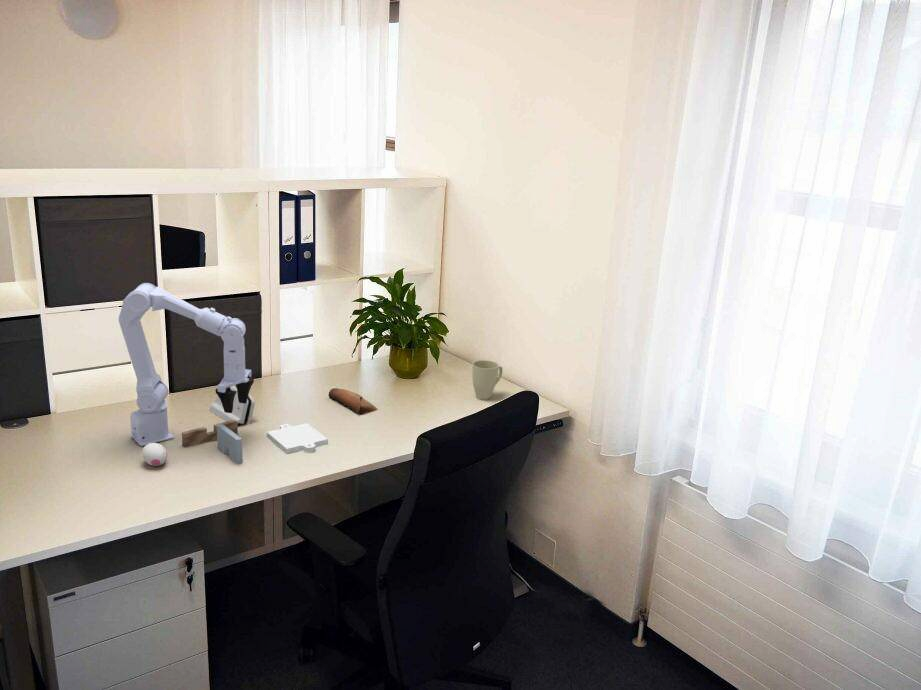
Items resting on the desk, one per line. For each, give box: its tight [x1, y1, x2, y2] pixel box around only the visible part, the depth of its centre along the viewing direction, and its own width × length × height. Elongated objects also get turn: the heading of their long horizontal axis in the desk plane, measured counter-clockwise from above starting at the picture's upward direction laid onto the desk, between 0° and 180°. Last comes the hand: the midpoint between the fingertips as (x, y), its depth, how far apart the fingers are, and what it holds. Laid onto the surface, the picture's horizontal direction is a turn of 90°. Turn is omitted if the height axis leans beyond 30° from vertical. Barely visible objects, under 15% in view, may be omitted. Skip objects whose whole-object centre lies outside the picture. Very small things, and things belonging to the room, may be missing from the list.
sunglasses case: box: [328, 387, 379, 416], centre depth 254 cm, size 18×7×7 cm
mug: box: [472, 359, 503, 401], centre depth 267 cm, size 11×10×12 cm
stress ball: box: [141, 442, 168, 468], centre depth 207 cm, size 8×8×7 cm
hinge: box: [209, 385, 256, 426], centre depth 238 cm, size 17×5×10 cm, turn 45°
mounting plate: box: [266, 422, 329, 455], centre depth 226 cm, size 18×13×2 cm
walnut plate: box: [181, 420, 238, 448], centre depth 222 cm, size 16×2×4 cm, turn 132°
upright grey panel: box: [216, 423, 244, 465], centre depth 213 cm, size 2×12×7 cm, turn 42°
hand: (235, 407), depth 222 cm, fingers open, 7 cm apart
